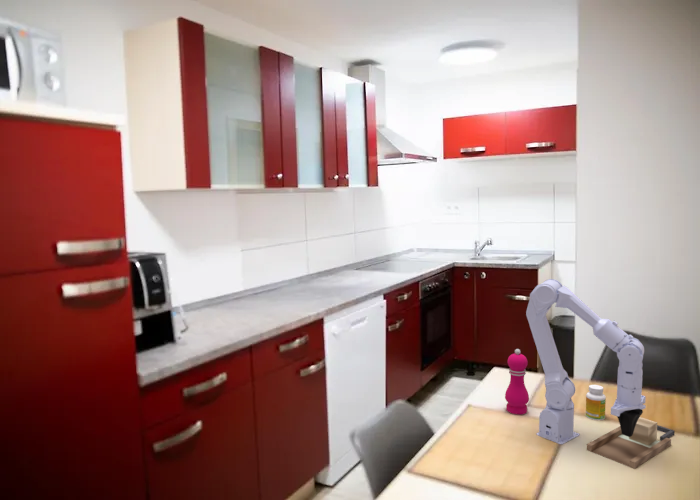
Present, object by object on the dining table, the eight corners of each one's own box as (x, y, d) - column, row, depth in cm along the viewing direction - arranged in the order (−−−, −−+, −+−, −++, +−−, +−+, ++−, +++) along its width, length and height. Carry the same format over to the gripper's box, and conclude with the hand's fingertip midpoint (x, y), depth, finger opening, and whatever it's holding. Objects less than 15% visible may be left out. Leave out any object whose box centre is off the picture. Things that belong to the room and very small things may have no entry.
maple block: (647, 445, 143) (648, 427, 142) (629, 438, 147) (629, 421, 146) (656, 440, 145) (657, 422, 145) (637, 433, 149) (638, 416, 149)
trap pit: (662, 442, 145) (663, 437, 144) (633, 432, 151) (633, 427, 151) (674, 435, 149) (674, 430, 149) (644, 426, 155) (644, 421, 155)
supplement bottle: (602, 423, 158) (603, 391, 157) (583, 418, 161) (584, 387, 160) (606, 416, 162) (607, 386, 161) (587, 412, 165) (588, 382, 164)
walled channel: (634, 470, 131) (634, 462, 131) (586, 451, 141) (586, 444, 141) (670, 446, 143) (671, 439, 142) (624, 430, 152) (624, 423, 152)
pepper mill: (531, 415, 164) (533, 352, 162) (508, 415, 164) (509, 352, 162) (524, 406, 171) (525, 345, 169) (502, 406, 171) (502, 345, 169)
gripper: (631, 396, 132) (628, 448, 133) (658, 383, 140) (655, 432, 142) (603, 388, 137) (601, 438, 139) (631, 376, 146) (629, 423, 147)
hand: (627, 435), depth 141 cm, fingers closed
